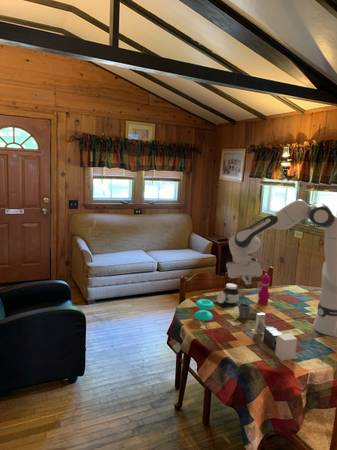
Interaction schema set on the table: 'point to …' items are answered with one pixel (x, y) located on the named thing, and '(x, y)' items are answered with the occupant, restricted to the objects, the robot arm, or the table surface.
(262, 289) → the pepper mill
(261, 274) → the robot arm
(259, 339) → the base board
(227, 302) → the spread jar
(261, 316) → the tube
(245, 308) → the pipe
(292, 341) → the socket
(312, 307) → the table surface
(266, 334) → the sleeve
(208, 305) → the donuts
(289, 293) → the table surface
